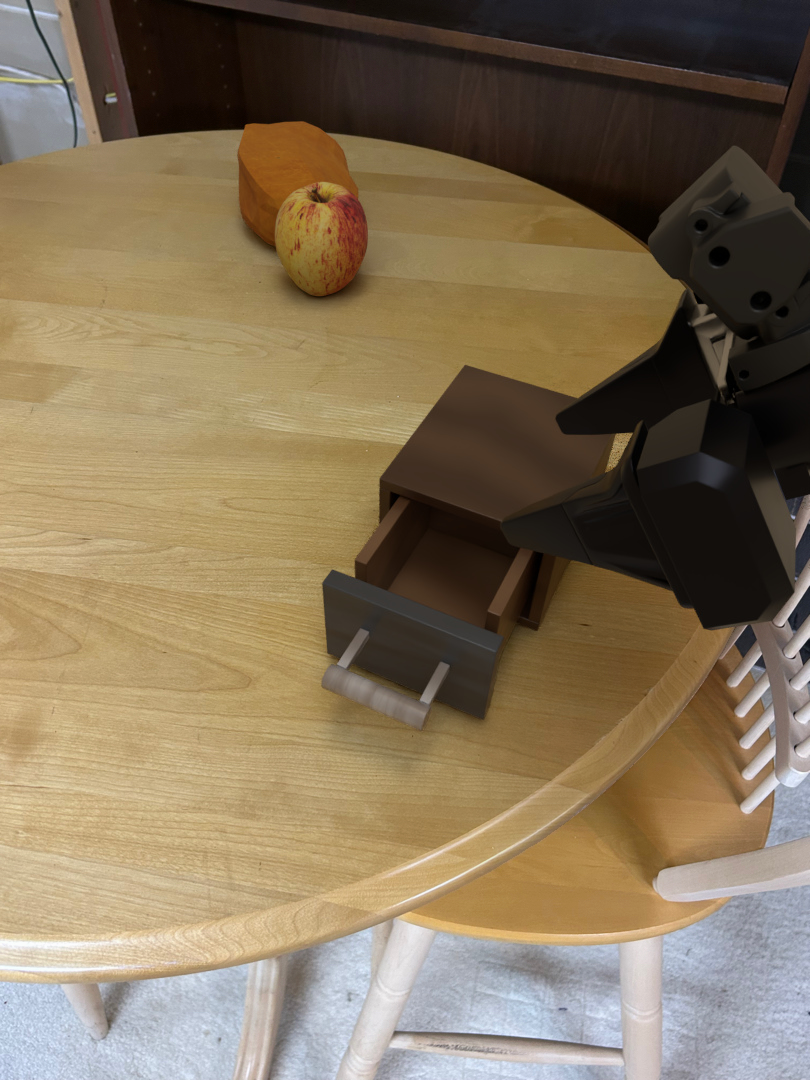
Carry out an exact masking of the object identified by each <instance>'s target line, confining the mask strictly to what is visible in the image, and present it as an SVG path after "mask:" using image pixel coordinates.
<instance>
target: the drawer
mask: <svg viewBox="0 0 810 1080" xmlns="http://www.w3.org/2000/svg"><path fill="white" fill-rule="evenodd" d="M542 556H543V553H540V552H536V551H532V550H528V549H524V548H520V547H516V546H513V545H511V544H510V543H509V542H508V541H507V539H506V537H505V536H504V534H503V532H502V531H501V530H498V529H495V528H492V527H489V526H487V525H484V524H481V523H478V522H475V521H473V520H470V519H467V518H464V517H461V516H458V515H456V514H453V513H450V512H447V511H444V510H442V509H439V508H436V507H433V506H430V505H427V504H425V503H422V502H419V501H416V500H413V499H411V498H408V497H405V496H402V495H400V496H399V498H398V499H397V501H396V502H395V503H394V505H393V506H392V508H391V509H390V510H389V512H388V513H387V515H386V516H385V517H384V519H383V520H382V522H381V523H380V524H379V523H378V525H377V527H376V528H375V530H374V531H373V532H372V534H371V536H370V537H369V538H368V540H367V541H366V543H364V545H363V547H362V549H360V551H359V552H358V554H357V555H356V557H354V576H352V575H348V574H346V573H343V572H341V571H338V570H336V569H330V570H329V572H328V573H327V575H326V577H325V578H324V580H323V581H322V582H321V585H322V586H321V588H322V600H323V601H322V602H323V614H324V615H323V616H324V628H325V642H326V653H327V654H328V655H330V656H332V657H335V658H337V659H339V660H338V661H337V663H336V664H334V663H331V664H329V665H328V667H327V668H326V669H325V671H324V673H323V676H322V679H321V683H320V684H321V685H320V686H321V688H322V689H324V690H326V691H328V692H331V693H333V694H336V695H338V696H340V697H343V699H347V700H349V701H351V702H354V703H356V704H358V705H360V706H362V707H365V708H367V709H369V710H371V711H373V712H376V713H379V714H381V715H383V716H385V717H387V718H389V719H392V720H394V721H397V722H399V723H401V724H403V725H405V726H407V727H411V728H412V729H415V730H417V731H419V732H423V731H424V729H425V728H426V727H427V725H428V723H429V720H430V718H431V715H432V711H433V706H432V705H433V702H434V700H435V701H438V702H440V703H443V704H445V705H447V706H449V707H452V708H454V709H456V710H459V711H461V712H462V713H466V714H468V715H470V716H473V717H475V718H478V719H479V720H482V721H483V720H484V719H485V717H486V715H487V714H488V711H489V710H490V707H491V705H492V700H493V694H494V689H495V685H496V679H497V674H498V669H499V665H500V659H501V655H502V653H503V651H504V649H505V647H506V645H507V643H508V641H509V638H510V637H511V635H512V632H513V630H514V629H515V627H516V624H517V623H516V622H517V620H518V618H519V616H520V614H521V612H522V610H523V608H524V606H525V604H526V602H527V600H528V598H529V596H530V594H531V591H532V589H533V587H534V585H535V583H536V581H537V578H538V573H539V569H540V565H541V560H542ZM353 665H354V666H355V667H358V668H360V669H363V670H365V671H367V672H370V673H371V674H375V675H377V676H379V677H381V678H384V679H386V680H389V681H391V682H393V683H395V684H398V685H400V686H402V687H404V688H407V689H410V690H412V691H414V692H415V693H419V694H421V695H420V698H419V700H418V699H416V698H413V697H411V696H408V695H407V694H404V693H401V692H399V691H397V690H394V689H393V688H390V687H388V686H385V685H383V684H380V683H378V682H376V681H374V680H371V679H369V678H367V677H364V676H361V675H360V674H358V673H355V672H353V671H350V669H351V667H352V666H353Z"/></svg>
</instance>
